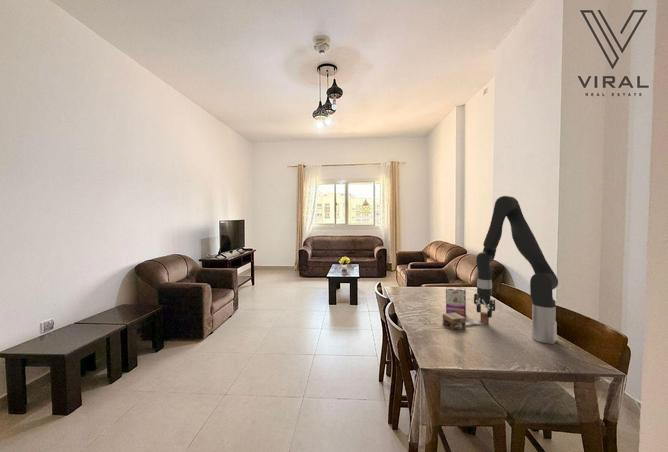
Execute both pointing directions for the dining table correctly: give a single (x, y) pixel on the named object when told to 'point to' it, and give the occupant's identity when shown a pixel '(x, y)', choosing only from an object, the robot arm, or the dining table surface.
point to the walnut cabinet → (454, 320)
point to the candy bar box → (456, 301)
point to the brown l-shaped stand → (483, 321)
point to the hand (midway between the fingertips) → (483, 314)
